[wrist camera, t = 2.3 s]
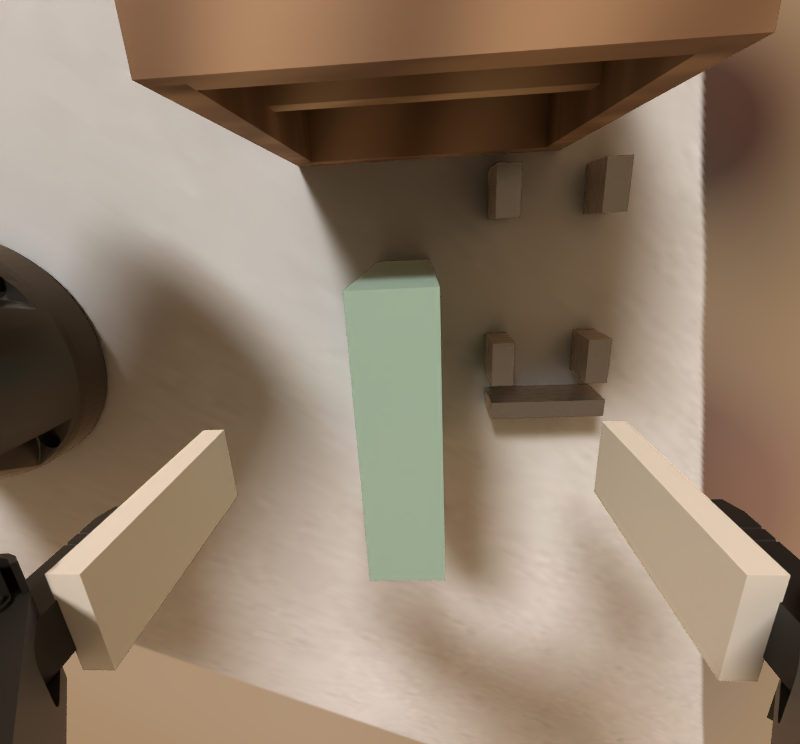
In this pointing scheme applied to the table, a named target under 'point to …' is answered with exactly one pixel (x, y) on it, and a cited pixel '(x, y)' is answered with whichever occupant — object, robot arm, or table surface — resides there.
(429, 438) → the door
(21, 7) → the table surface
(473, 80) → the cabinet
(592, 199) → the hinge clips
